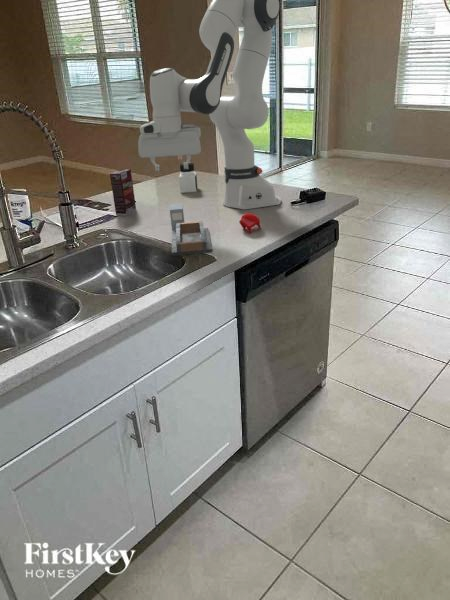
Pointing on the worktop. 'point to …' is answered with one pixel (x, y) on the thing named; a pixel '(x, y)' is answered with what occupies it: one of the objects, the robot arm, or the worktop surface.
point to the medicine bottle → (188, 179)
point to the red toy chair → (249, 221)
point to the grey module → (176, 214)
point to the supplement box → (123, 192)
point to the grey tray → (190, 239)
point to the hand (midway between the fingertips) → (171, 169)
